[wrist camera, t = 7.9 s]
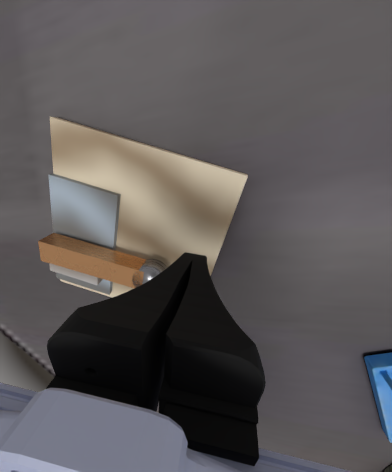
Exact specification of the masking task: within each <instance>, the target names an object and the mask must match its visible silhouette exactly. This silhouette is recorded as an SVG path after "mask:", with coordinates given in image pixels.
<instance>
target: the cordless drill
mask: <svg viewBox="0 0 392 472" xmlns="http://www.w3.org/2000/svg"><path fill="white" fill-rule="evenodd" d="M384 472H392V465H390V466H388V467H387V468H386V469H385V471H384Z"/></svg>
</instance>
